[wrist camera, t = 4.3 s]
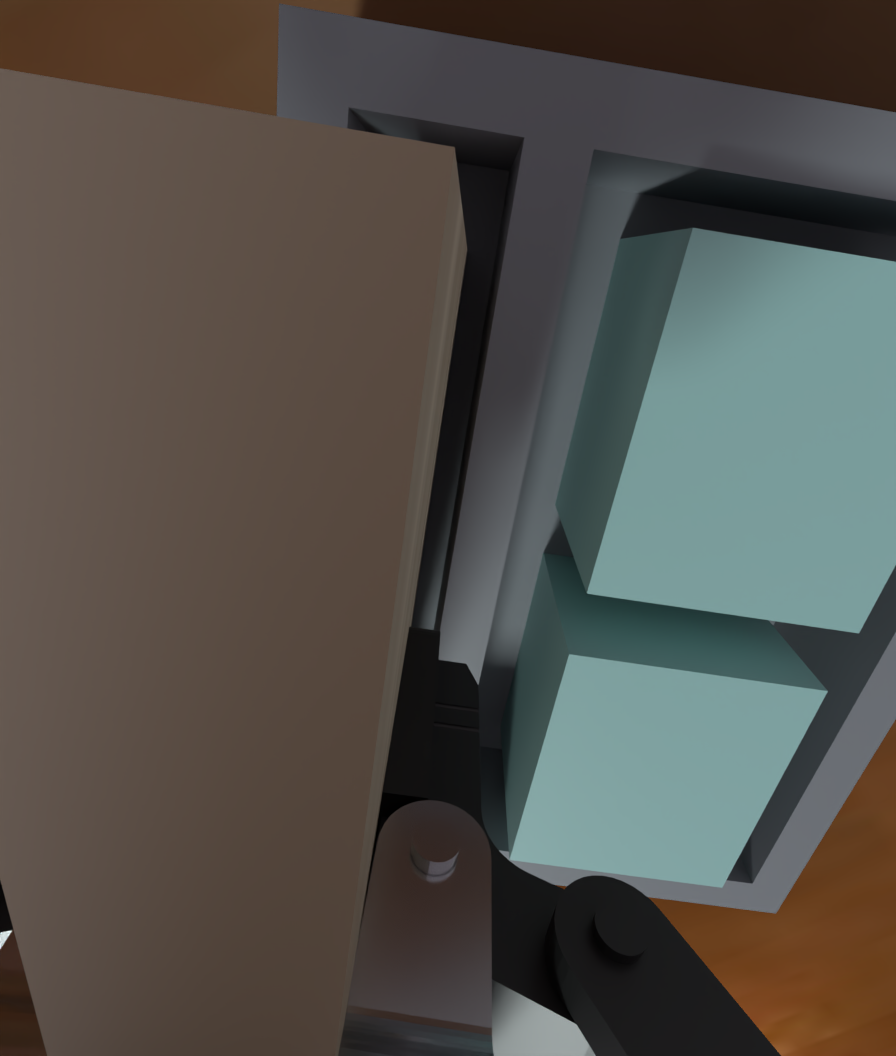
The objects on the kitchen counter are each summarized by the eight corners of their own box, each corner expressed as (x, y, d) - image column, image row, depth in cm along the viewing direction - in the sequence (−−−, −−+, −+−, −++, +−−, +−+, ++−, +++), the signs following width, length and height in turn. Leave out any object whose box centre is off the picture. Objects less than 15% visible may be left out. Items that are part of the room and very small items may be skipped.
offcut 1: (555, 504, 17) (586, 593, 12) (619, 239, 14) (692, 227, 9) (755, 534, 17) (859, 633, 13) (860, 279, 14) (1045, 287, 10)
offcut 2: (500, 727, 20) (509, 859, 16) (543, 553, 18) (569, 654, 13) (666, 750, 21) (722, 887, 16) (735, 581, 18) (827, 691, 13)
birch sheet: (355, 690, 20) (152, 1449, 7) (402, 239, 14) (-227, 29, 1) (400, 697, 20) (281, 1462, 7) (467, 251, 14) (452, 151, 1)
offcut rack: (305, 722, 22) (261, 846, 18) (343, 91, 14) (279, 4, 9) (712, 778, 23) (776, 913, 18) (982, 201, 14) (1232, 171, 10)
